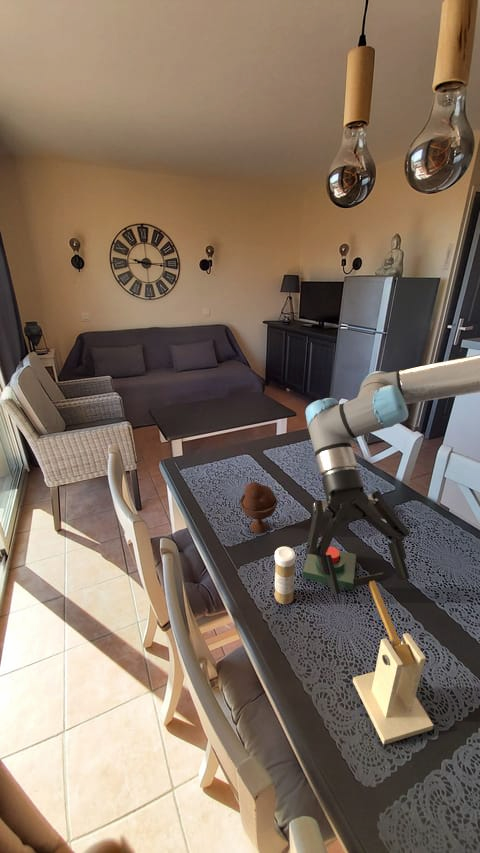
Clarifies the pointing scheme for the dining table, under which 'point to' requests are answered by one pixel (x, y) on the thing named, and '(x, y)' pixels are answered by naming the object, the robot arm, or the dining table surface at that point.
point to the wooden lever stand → (394, 693)
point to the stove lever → (386, 616)
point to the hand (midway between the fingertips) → (370, 586)
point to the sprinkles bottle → (284, 574)
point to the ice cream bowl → (258, 505)
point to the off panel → (342, 568)
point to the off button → (333, 554)
